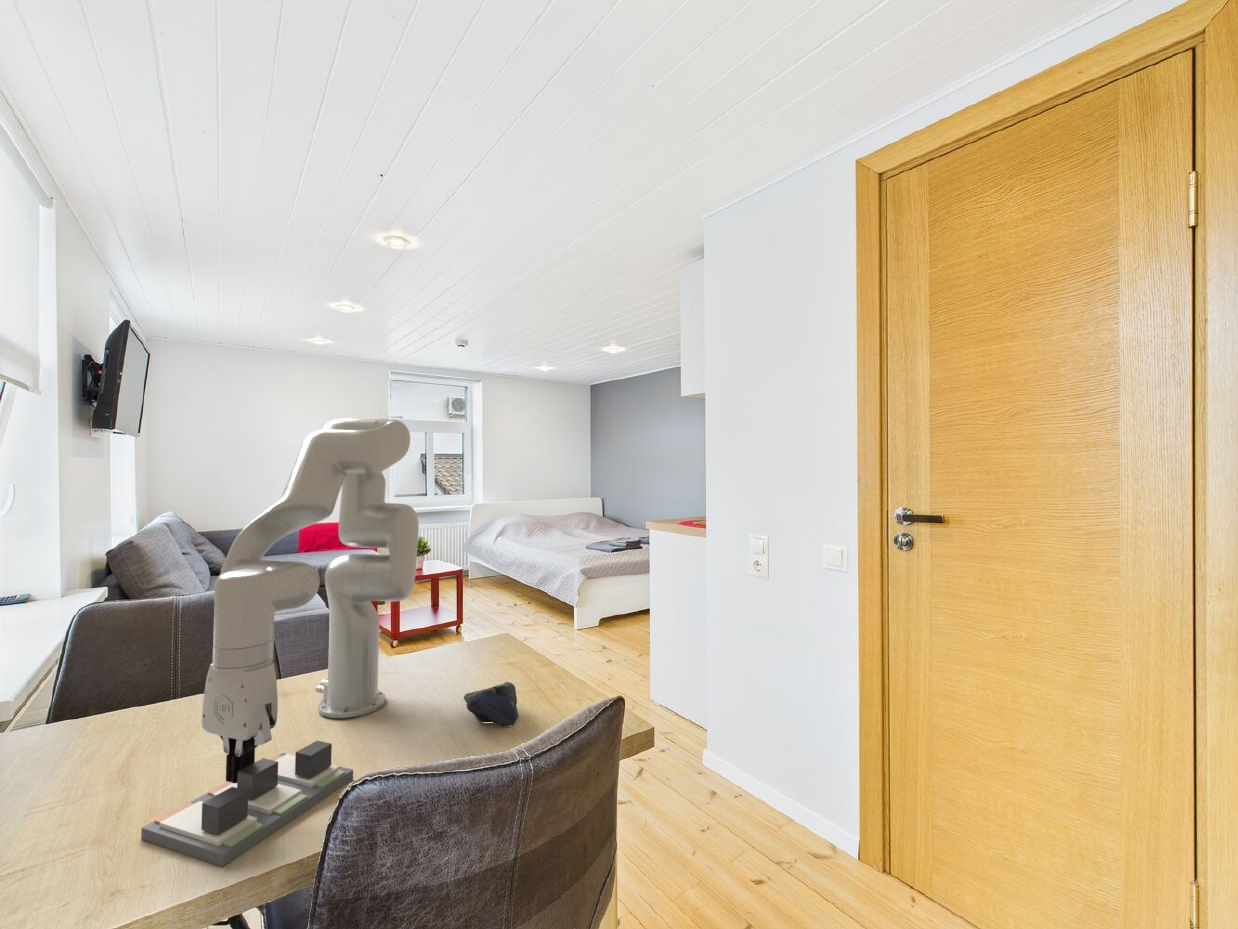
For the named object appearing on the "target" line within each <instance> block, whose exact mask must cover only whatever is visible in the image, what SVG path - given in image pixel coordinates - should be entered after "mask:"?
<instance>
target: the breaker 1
mask: <svg viewBox="0 0 1238 929" xmlns="http://www.w3.org/2000/svg"><path fill="white" fill-rule="evenodd" d="M247 817H248V791H246V790H242V789H239V788H235V787H231V788H229V789H227V790H225V791H223V792H222V793H220V794H218V795H216V796H214V797H212V798H211V799H209V800H207V801H205V802H203V803H202V826H201V830H203V831H206V832H209V833H212V834H215V835H219V834H221V833H222V832H224V831H226V830H227V829H229V828H231V827H232V826H234V825H236V824H237V823H239V822H240V821H242V820H244V819H245V818H247Z"/></svg>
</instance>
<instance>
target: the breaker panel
mask: <svg viewBox="0 0 1238 929" xmlns="http://www.w3.org/2000/svg"><path fill="white" fill-rule="evenodd" d="M295 756H296V755H294V754H293V755H292V754H290V753H285V752H282V753H280V754H278V755H274V756H273V757H271V758H269V760H273V761H277V762H278V785H277V786H276V787H274V788H272V789H271V790H269V791H267V792H265V793H264V794H262V795H260V796H259V797H257V798H255V799H254V800H249V799H248V817H247V818H245V819H244V820H242V821H240V822H239V823H237V824H236V825H234V826H232V827H231V828H229V829H227V830H226V831H224V832H222V833H221V834H219V835H215V834H212V833H209V832H206V831H203V830H201V826H202V803H203V802H205V801H207V800H209V799H211V798H212V797H214V796H216V795H218V794H220V793H222V792H223V791H225V790H227V789H229V788H231V787H235V788H237V783H235V784H234V783H231V782H227V781H226V782H224V783H222V784H220V785H219V786H217V787H215V788H213V789H211V790H210V791H207V792H205V793H204V794H203V795H201V796H199V797H197V798H195V799H193V800H191V801H190V802H187V803H185V804H183V805H181V806H179V807H177V808H175V809H173V810H172V811H169V812H168V813H166V814H164V815H162V816H160V817H158V818H157V819H155V820H153V821H152V822H150V823H148V824H146V825H144V826H142V827H141V832H140V834H141V837H140V839H141V840H143V841H146V842H148V843H151V844H155V845H157V846H160V847H164V848H166V849H169V850H172V851H175V852H178V853H180V854H184V855H187V856H189V857H192V858H196V859H198V860H201V861H204V862H207V863H210V864H213V865H216V866H219V867H221V868H223V867H224V866H226V865H228V864H230V862H232V861H234V860H235V859H236V858H238V857H239V856H241V855H243V854H244V853H245V852H247V851H249V850H250V849H251V848H253V847H254V846H256V845H257V844H259V843H260V842H262V841H263V840H265V839H267V838H268V837H269V836H271V835H272V834H274V833H275V832H277V831H278V830H280V829H281V828H283V827H284V826H285V825H287V824H289V823H290V822H292V821H293V820H294V819H296V818H297V817H299V816H300V815H302V814H303V813H305V812H306V811H308V810H309V809H311V808H312V807H314V806H315V805H316V804H319V803H320V802H322V801H323V800H324V799H325V798H327V797H328V796H330V795H332V794H333V793H335V792H336V791H338V790H339V789H341V788H342V787H343V786H345V785H347V784H348V783H349V782H351V781H352V780H354V769H351V768H347V767H344V766H339V765H336V764H332V763H331V766H330V767H328V768H327V769H325V770H324V771H322V772H320V773H319V774H317V775H315V776H314V777H312V778H310V779H309V778H305V777H301V776H297V775H295Z"/></svg>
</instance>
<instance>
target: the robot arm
mask: <svg viewBox="0 0 1238 929" xmlns="http://www.w3.org/2000/svg"><path fill="white" fill-rule="evenodd" d="M410 444H411V434H410V430H409V428H408V427H407V425H406V424H405V423H404V422H402V421H401V420H399V419H391V418H390V419H389V418H388V419H387V418H385V419H384V418H354V417H353V418H337V419H333V420H331V421H327V422H326V423H325V425H324V426H323V428H322V429H319V430H315V431H312V432H311V433H310V434H308V435H307V436H306V437H305V439H304V440H303V442H302V445H301V446H300V449H299V452H298V454H297V457H296V459H295V462H294V465H293V467H292V469H291V472H290V475H289V477H288V480H287V483H285V484H286V485H285V487H284V489H283V492H282V495H281V496H280V498H279V500H277V502H275V503H274V504H272V505H270V506H269V507H268V508H266V509H265V510H264V511H262V512H261V513H260V514H258V515H257V516H256V517H255V518H254V519H252V520H251V521H250V522H249V523H248V524H247V525H246V526H245V527H244V528H243V529H241V531H240V532H239V533H238V534H237V536H236V537H235V538H234V540H233V541H232V544H231V546H230V548H229V551H228V553H227V554H226V558H225V559H224V562H223V564H222V567H221V570H220V573H219V576H218V577H216V578H217V579H216V581H215V583H214V597H213V598H214V599H213V600H214V602H213V603H214V604H213V635H212V636H213V638H212V639H213V641H212V642H213V643H212V644H213V646H212V663H210V665H209V668H208V672H207V676H206V680H205V685H204V691H203V699H202V700H203V702H202V711H201V712H202V715H201V727H202V729H203V730H204V731H206V732H207V733H210V734H213V735H215V736H216V735H217V736H218V737H220V739H221V741H222V746H223V747H222V749H223V752H224V753H225V754H226V759H225V760H226V761H225V763H226V765H225V781H226V782H231V783H234V784H235V783H237V774H238V771H240V770H241V769H243V768H245V767H247V766H249V765H251V764H253V763H255V762H256V760H255V759H256V757H255V756H256V754H255V753H256V749H258V747H259V746H262V745H263V746H264V745H265V744H266V743H269V742H271V741H272V731H271V729H273V728H275V727H276V725H277V721H278V712H279V711H278V708H279V705H278V704H279V703H278V702H279V700H278V684H277V683H278V682H277V673H276V667H275V662H274V661H273V660H274V648H275V647H274V646H275V645H274V643H275V642H274V641H275V638H274V637H275V633H274V632H275V613H276V612H281V611H287V610H294V609H298V608H301V607H303V606H305V605H307V604H308V603H310V602H311V601H312V600H313V599H314V597H315V596H316V595H317V593H318V591H319V588H320V583H321V581H320V580H321V579H320V574H319V572H318V571H317V569H316V568H315V567H314V566H313V565H311V564H309V563H306V562H303V561H291V560H290V561H287V560H286V561H285V560H282V561H281V560H263V558H264V556H265V555H266V553H267V552H268V551H269V549H270V548H271V547H272V546H273V545H275V544H276V543H277V542H278V541H280V540H281V539H283V538H285V537H286V536H288V535H290V534H292V533H294V532H297V531H300V530H302V529H304V528H307V527H309V526H312V525H315V524H317V523H319V522H321V521H324V520H325V519H327V518H329V517H331V515H332V514H333V512H334V509H335V506H336V503H337V500H338V498H339V495H340V491H341V496H340V505H339V515H338V516H339V517H338V529H337V530H338V539H339V541H340V542H341V543H342V544H343V545H345V546H347V547H353V548H361V549H363V548H365V549H367V548H368V549H370V548H371V549H388V552H389V554H375V553H374V554H373V553H371V554H369V553H368V554H367V553H352V554H351V553H348V554H343V555H340V556H338V557H336V558H333V559H332V560H331V561H330V563H329V564H328V565H327V567H326V570H325V574H324V584H325V585H324V586H325V590H326V596H327V602H328V610H329V611H328V613H329V615H328V618H329V619H328V620H329V621H328V622H329V623H328V626H329V628H328V658H327V659H328V661H327V662H328V663H327V664H328V665H327V679H325V678H324V679H322V680H321V681H320V682H319V683H320V684H318V685H317V686H316V687H315V692H316V693H319V694H323V699H322V700H320V702H319V704H318V708H317V709H318V713H319V715H322V716H323V717H326V718H330V719H350V718H356V717H360V716H364V715H367V714H370V713H372V712H374V711H377V710H379V709H380V708H381V707H383V705H385V703H386V694H385V693H384V692H383V691H381V690H378V689H379V688H378V687H379V654H380V653H379V651H380V649H379V648H380V645H379V644H380V618H379V615H378V611H377V610H376V607H375V606H374V604H373V603H372V602H401V601H405V600H406V599H408V598H409V597H410V596H411V595H412V592H413V590H414V586H415V581H416V580H415V579H416V572H417V569H416V568H417V560H418V558H417V556H418V547H419V544H418V543H419V532H420V531H419V530H420V529H419V518H418V514H417V513H416V511H415V509H414V508H413V507H412V506H410V505H408V504H405V503H398V502H397V503H396V502H395V503H392V502H391V503H390V502H387V503H386V500H385V498H386V497H385V495H386V486H387V485H386V478H385V475H384V474H383V471H385V470H387V469H389V468H390V467H392V466H394V465H395V464H397V463H398V462H399V461H401V460H402V459H403V458H404V457H405V456H406V455H407V453H408V451H409V450H410Z"/></svg>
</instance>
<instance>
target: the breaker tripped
mask: <svg viewBox="0 0 1238 929" xmlns="http://www.w3.org/2000/svg"><path fill="white" fill-rule="evenodd" d="M269 759H270V758H269ZM269 759H268V758H265V757H263V758H261V759H259V760H257V761H255V763H253V764H251V765H249V766H247V767H245V768H243V769H241V770H240V771H238V774H237V788H239V789H242V790H246V791H248V799H249V800H254V799H255V798H257V797H259V796H260V795H262V794H264V793H265V792H267V791H269V790H271V789H272V788H274V787H276V786H277V785H278V762H277V761H273V760H269Z"/></svg>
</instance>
